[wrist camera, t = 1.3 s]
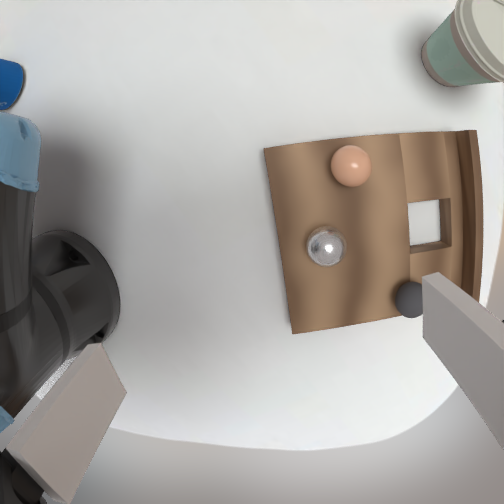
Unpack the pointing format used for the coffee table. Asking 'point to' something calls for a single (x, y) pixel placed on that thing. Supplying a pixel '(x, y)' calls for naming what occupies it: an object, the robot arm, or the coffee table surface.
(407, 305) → the black ball
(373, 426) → the coffee table surface
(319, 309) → the wooden board
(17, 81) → the beverage can
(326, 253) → the steel ball
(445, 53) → the coffee cup
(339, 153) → the clay ball
